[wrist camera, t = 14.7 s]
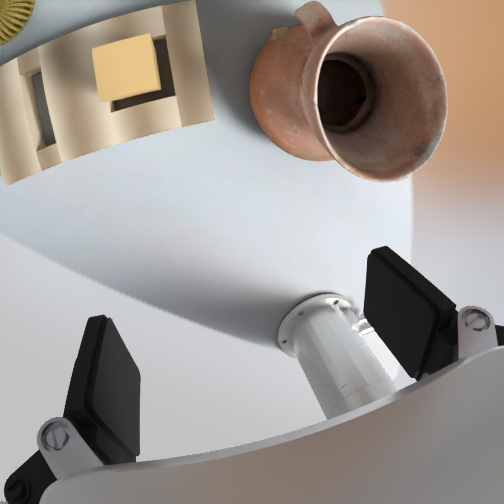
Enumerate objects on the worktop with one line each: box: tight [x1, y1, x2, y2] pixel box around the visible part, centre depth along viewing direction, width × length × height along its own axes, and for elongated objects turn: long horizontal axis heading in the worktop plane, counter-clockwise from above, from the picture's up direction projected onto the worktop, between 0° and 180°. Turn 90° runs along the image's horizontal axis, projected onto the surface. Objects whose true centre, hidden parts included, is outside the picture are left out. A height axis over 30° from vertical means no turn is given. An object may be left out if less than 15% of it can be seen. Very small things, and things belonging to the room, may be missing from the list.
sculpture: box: [0, 0, 35, 46], centre depth 14 cm, size 8×4×8 cm
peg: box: [92, 33, 162, 102], centre depth 20 cm, size 4×4×10 cm
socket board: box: [0, 0, 215, 186], centre depth 23 cm, size 22×12×3 cm, turn 98°
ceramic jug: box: [249, 1, 448, 182], centre depth 24 cm, size 18×14×14 cm
